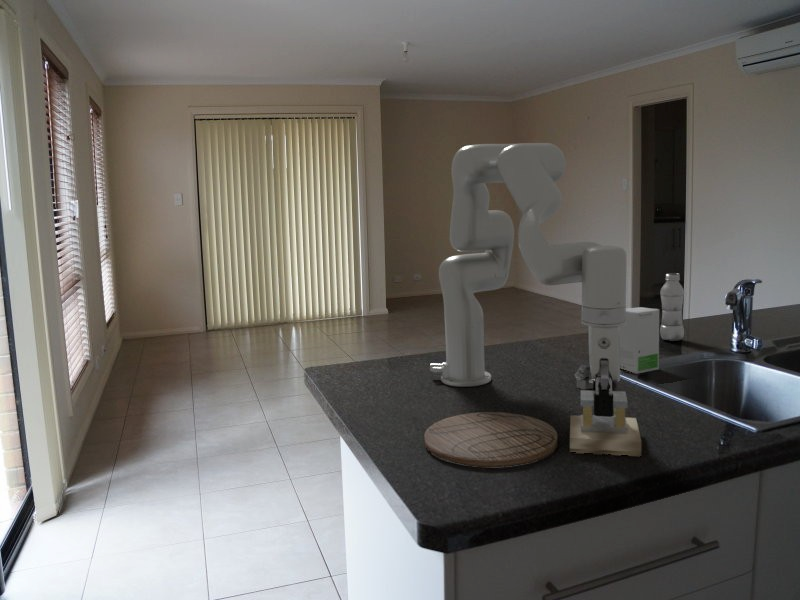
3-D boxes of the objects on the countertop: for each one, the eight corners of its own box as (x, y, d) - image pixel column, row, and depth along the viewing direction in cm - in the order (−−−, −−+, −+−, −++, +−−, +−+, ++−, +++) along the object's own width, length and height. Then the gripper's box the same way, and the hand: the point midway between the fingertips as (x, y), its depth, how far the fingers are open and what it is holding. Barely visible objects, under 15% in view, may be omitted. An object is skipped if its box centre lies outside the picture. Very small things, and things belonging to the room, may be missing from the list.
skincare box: (636, 374, 164) (636, 313, 162) (616, 369, 170) (616, 309, 168) (660, 369, 168) (661, 308, 166) (639, 364, 174) (640, 305, 171)
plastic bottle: (687, 342, 194) (689, 274, 191) (664, 343, 194) (665, 275, 191) (678, 337, 200) (680, 272, 197) (656, 338, 201) (657, 273, 197)
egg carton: (605, 392, 152) (605, 375, 152) (572, 390, 156) (572, 373, 155) (612, 379, 162) (612, 363, 161) (581, 377, 165) (581, 361, 165)
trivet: (403, 435, 132) (402, 426, 132) (509, 413, 142) (509, 404, 142) (465, 482, 110) (464, 471, 109) (586, 452, 120) (586, 442, 119)
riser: (569, 453, 118) (569, 437, 118) (570, 430, 130) (570, 415, 129) (641, 457, 115) (641, 441, 114) (635, 432, 126) (635, 417, 126)
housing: (627, 434, 118) (627, 401, 117) (580, 431, 120) (580, 400, 119) (625, 422, 124) (625, 391, 123) (580, 420, 126) (580, 390, 125)
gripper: (628, 325, 109) (627, 424, 112) (622, 306, 126) (621, 392, 129) (581, 325, 111) (581, 422, 114) (581, 306, 128) (581, 391, 131)
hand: (602, 406), depth 121 cm, fingers open, 9 cm apart
